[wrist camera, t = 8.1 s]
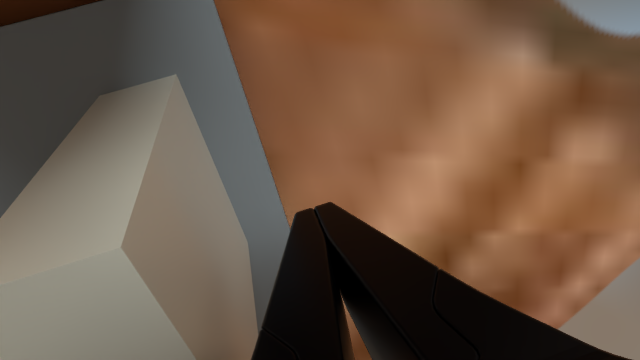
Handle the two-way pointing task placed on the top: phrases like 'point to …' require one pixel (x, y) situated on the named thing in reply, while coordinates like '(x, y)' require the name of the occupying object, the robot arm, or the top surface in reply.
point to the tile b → (127, 243)
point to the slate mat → (130, 70)
